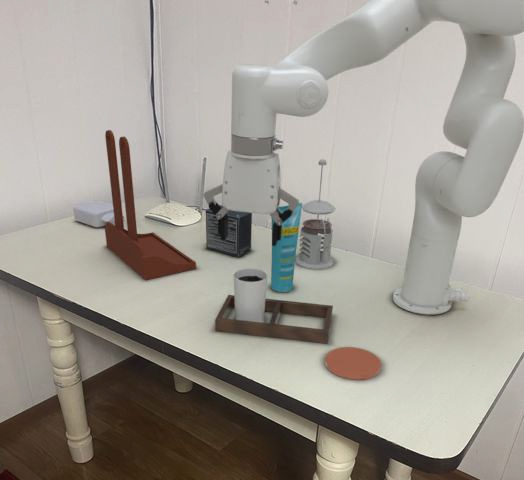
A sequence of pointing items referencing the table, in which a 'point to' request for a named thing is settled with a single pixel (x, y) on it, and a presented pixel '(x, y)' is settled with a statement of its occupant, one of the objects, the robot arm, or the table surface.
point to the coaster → (353, 363)
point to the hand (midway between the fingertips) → (249, 240)
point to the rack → (273, 327)
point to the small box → (230, 233)
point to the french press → (316, 234)
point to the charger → (94, 213)
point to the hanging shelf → (129, 242)
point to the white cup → (250, 294)
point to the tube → (285, 252)
